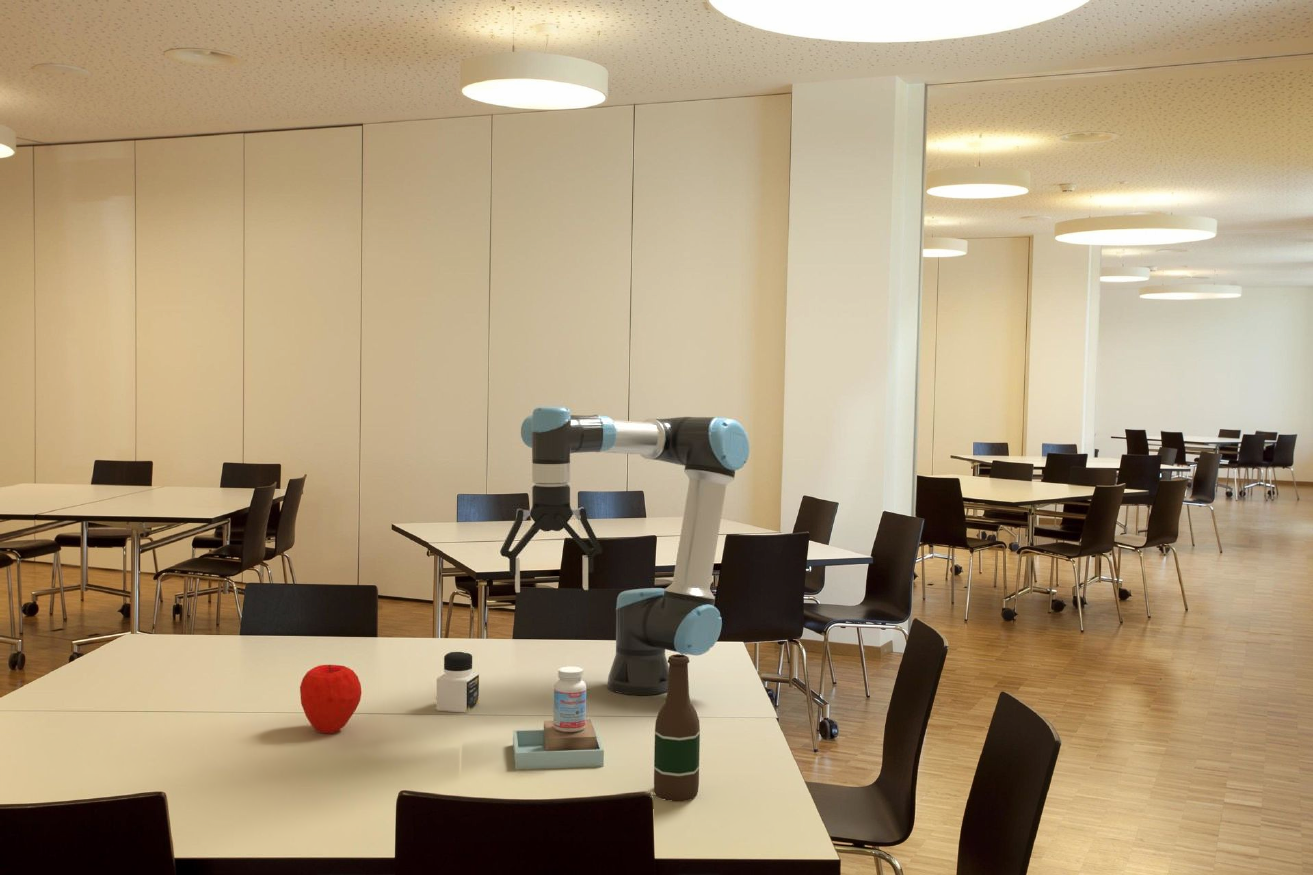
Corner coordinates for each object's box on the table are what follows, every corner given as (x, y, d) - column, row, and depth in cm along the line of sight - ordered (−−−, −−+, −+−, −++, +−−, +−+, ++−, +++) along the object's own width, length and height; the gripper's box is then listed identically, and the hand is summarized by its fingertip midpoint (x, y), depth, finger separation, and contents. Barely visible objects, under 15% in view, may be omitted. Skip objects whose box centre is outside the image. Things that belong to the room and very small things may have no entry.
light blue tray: (595, 745, 216) (595, 727, 216) (603, 769, 202) (603, 750, 202) (512, 747, 213) (513, 729, 213) (515, 772, 199) (515, 753, 199)
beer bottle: (651, 786, 193) (654, 650, 193) (695, 785, 194) (698, 650, 193) (655, 802, 186) (657, 661, 185) (701, 802, 186) (704, 661, 185)
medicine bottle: (467, 713, 236) (467, 657, 235) (435, 710, 237) (436, 655, 237) (479, 704, 243) (479, 650, 242) (448, 702, 244) (449, 648, 244)
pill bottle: (560, 734, 204) (561, 674, 203) (548, 725, 209) (549, 667, 209) (591, 730, 206) (591, 671, 206) (578, 722, 212) (578, 664, 211)
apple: (372, 725, 226) (372, 660, 225) (338, 742, 215) (338, 674, 214) (323, 719, 230) (323, 655, 229) (287, 735, 218) (287, 668, 218)
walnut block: (590, 744, 214) (590, 719, 214) (596, 763, 203) (596, 736, 203) (543, 746, 213) (543, 720, 212) (547, 765, 202) (547, 738, 202)
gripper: (610, 481, 226) (610, 584, 227) (487, 483, 221) (487, 588, 222) (616, 484, 219) (616, 591, 220) (488, 487, 214) (489, 595, 215)
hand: (551, 590), depth 221 cm, fingers open, 13 cm apart
